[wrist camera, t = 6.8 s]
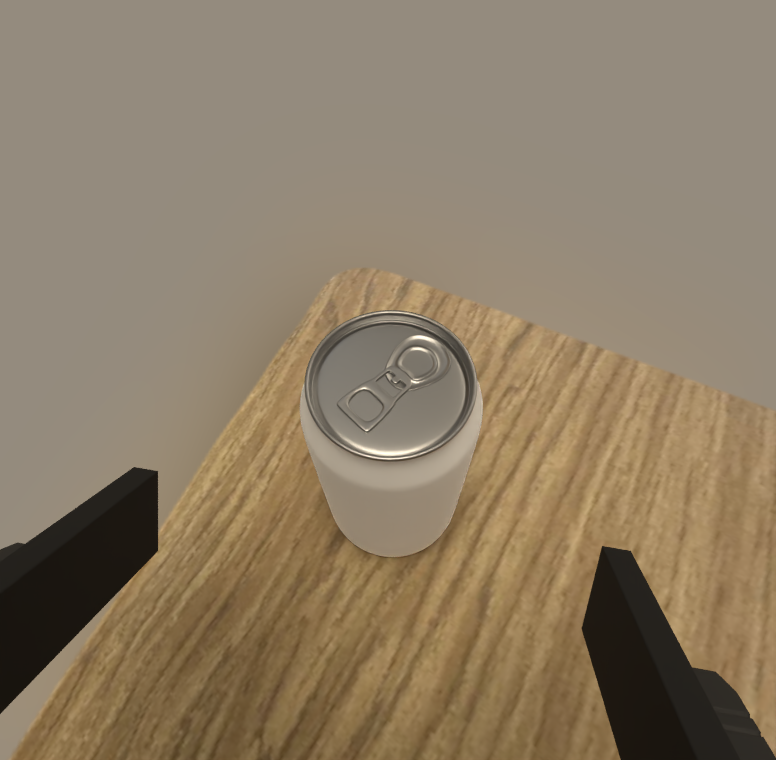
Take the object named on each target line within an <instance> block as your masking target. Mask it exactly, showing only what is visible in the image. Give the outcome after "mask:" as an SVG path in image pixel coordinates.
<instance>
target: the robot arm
mask: <svg viewBox="0 0 776 760" xmlns="http://www.w3.org/2000/svg"><path fill="white" fill-rule="evenodd" d="M157 551H158V471H153V470H147V469H142V468H136V467H134V468H132V469H131V470H130V471H128V472H127V473H125V474H124V475H122V476H121V477H120V478H118V479H117V480H115V481H114V482H112V483H111V484H110V485H108V486H107V487H105V488H104V489H102V490H101V491H100V492H98V493H97V494H95V495H94V496H93V497H91V498H90V499H88V500H87V501H85V502H84V503H83V504H81V505H80V506H78V507H77V508H75V510H73V511H71V512H70V513H68V514H67V515H66V516H64V517H63V518H61V519H60V520H58V521H57V522H56V523H54V524H53V525H51V526H50V527H49V528H47V529H46V530H44V531H43V532H41V533H40V534H39V535H37V536H36V537H34V538H33V539H32V540H30V541H29V542H27V543H26V544H22V543H16V544H13V545H10V546H8V547H6V548H3V549H1V550H0V714H1V713H2V711H3V710H4V709H5V708H6V707H7V706H8V705H9V704H10V703H11V702H12V701H13V700H14V699H15V698H16V697H17V696H18V695H19V694H20V693H21V692H22V691H23V690H24V689H25V688H26V687H27V686H28V685H29V684H30V683H31V681H32V680H33V679H34V678H35V677H36V676H37V675H38V674H39V673H40V672H41V671H42V670H43V669H44V668H45V667H46V666H47V665H48V664H49V663H50V662H51V661H52V660H53V659H54V658H55V657H56V656H57V655H58V653H60V651H62V649H63V648H64V647H65V646H66V645H67V644H68V643H69V642H70V641H71V640H72V639H73V638H74V637H75V636H76V635H77V634H78V633H79V632H80V631H81V630H82V629H83V628H84V627H85V626H86V625H87V624H88V623H89V622H90V620H92V618H93V617H94V616H95V615H96V614H97V613H98V612H99V611H100V610H101V609H102V608H103V607H104V606H105V605H106V604H107V603H108V602H109V601H110V600H111V599H112V598H113V597H114V596H115V595H116V594H117V593H118V592H119V591H120V590H121V589H122V587H123V586H124V585H125V584H126V583H127V582H128V581H129V580H130V579H131V578H132V577H133V576H134V575H135V574H136V573H137V572H138V571H139V570H140V569H141V568H142V567H143V566H144V565H145V564H146V563H147V562H148V561H149V560H150V559H151V558H152V556H153V555H154V554H155V553H156V552H157ZM582 631H583V635H584V638H585V641H586V645H587V648H588V651H589V655H590V658H591V661H592V665H593V668H594V671H595V675H596V678H597V681H598V685H599V688H600V691H601V695H602V698H603V701H604V705H605V708H606V712H607V715H608V718H609V722H610V725H611V728H612V732H613V735H614V738H615V742H616V745H617V748H618V752H619V755H620V758H621V760H776V757H775V756H774V754H773V752H772V751H771V749H770V747H769V746H768V744H767V742H766V741H765V739H764V737H761V732H760V731H759V729H758V727H757V726H756V724H755V722H754V721H753V719H751V718H750V714H749V712H748V710H747V709H746V707H745V705H744V704H743V702H742V700H741V699H740V697H739V695H738V694H737V692H736V691H735V690H734V689H733V688H732V687H731V686H730V685H729V684H728V683H727V682H726V681H725V680H724V679H723V678H722V677H720V676H719V675H718V674H717V673H716V672H714V671H708V670H703V669H698V668H692V667H691V665H690V663H689V661H688V659H687V657H686V655H685V653H684V652H683V650H682V648H681V646H680V644H679V642H678V640H677V638H676V636H675V634H674V633H673V631H672V629H671V627H670V625H669V623H668V621H667V619H666V617H665V615H664V614H663V612H662V610H661V608H660V606H659V604H658V602H657V600H656V598H655V596H654V595H653V593H652V591H651V589H650V587H649V585H648V583H647V581H646V579H645V578H644V576H643V574H642V572H641V570H640V568H639V566H638V564H637V562H636V560H635V559H634V557H633V555H632V553H631V551H628V550H622V549H616V548H610V547H604V546H602V549H601V553H600V557H599V561H598V565H597V569H596V573H595V577H594V581H593V585H592V589H591V593H590V597H589V601H588V606H587V610H586V614H585V618H584V622H583V626H582Z"/></svg>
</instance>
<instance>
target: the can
mask: <svg viewBox="0 0 776 760" xmlns="http://www.w3.org/2000/svg"><path fill="white" fill-rule="evenodd" d="M482 414H483V401H482V394H481V390H480V386H479V383H478V380H477V375H476V370H475V366H474V363H473V361H472V358H471V356H470V354H469V352H468V351H467V349H466V347H465V346H464V345H463V343H462V342H461V341H460V340H459V339H458V337H457V336H456V335H455V334H453V333H452V332H451V331H450V330H449V329H447V328H446V327H445V326H443V325H442V324H440V323H438V322H437V321H435V320H433V319H430V318H428V317H426V316H423V315H420V314H416V313H412V312H407V311H397V310H385V311H376V312H371V313H366V314H363V315H360V316H357V317H354V318H352V319H350V320H348V321H346V322H344V323H342V324H341V325H339V326H338V327H336V328H335V329H334V330H332V331H331V332H330V333H329V334H328V335H327V336H326V337H325V338H324V339H323V340H322V341H321V342H320V344H319V345H318V346H317V348H316V349H315V351H314V353H313V354H312V356H311V359H310V361H309V364H308V367H307V370H306V375H305V383H304V385H303V389H302V393H301V399H300V418H301V425H302V430H303V433H304V437H305V440H306V443H307V446H308V449H309V452H310V455H311V458H312V461H313V464H314V466H315V469H316V472H317V475H318V477H319V480H320V483H321V486H322V489H323V491H324V494H325V497H326V499H327V502H328V505H329V507H330V510H331V513H332V515H333V517H334V520H335V522H336V524H337V525H338V527H339V529H340V530H341V531H342V533H343V534H344V535H345V536H346V537H347V538H348V539H349V540H350V541H351V542H352V543H353V544H355V545H356V546H357V547H359V548H361V549H362V550H364V551H366V552H369V553H372V554H375V555H378V556H384V557H402V556H407V555H411V554H414V553H417V552H419V551H421V550H423V549H425V548H427V547H428V546H430V545H431V544H432V543H434V542H435V541H436V540H437V539H438V538H439V537H440V536H441V535H442V534H443V532H444V531H445V529H446V528H447V526H448V525H449V523H450V521H451V519H452V516H453V514H454V511H455V508H456V505H457V503H458V500H459V497H460V494H461V490H462V487H463V484H464V481H465V478H466V475H467V472H468V469H469V466H470V463H471V459H472V456H473V453H474V450H475V446H476V443H477V440H478V436H479V432H480V428H481V423H482Z"/></svg>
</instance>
